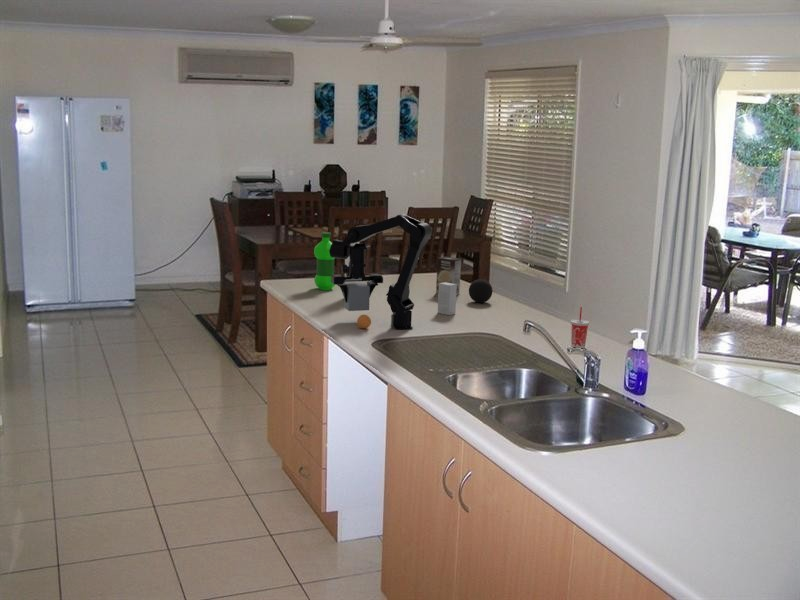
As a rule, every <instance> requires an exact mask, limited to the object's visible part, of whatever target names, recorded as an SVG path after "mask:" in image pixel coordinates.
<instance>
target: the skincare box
mask: <svg viewBox="0 0 800 600" xmlns="http://www.w3.org/2000/svg"><path fill="white" fill-rule="evenodd" d="M456 286H457V284H452V283H446V282H444V283H439V293H438V294H437V295H438V296H437V298H438V299H437V313H438V314H443V315H446V316H452V315H456V312H457V311H456V308H457V307H456V306H457V305H456V304H457V295H456Z"/></svg>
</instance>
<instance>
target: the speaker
mask: <svg viewBox="0 0 800 600" xmlns="http://www.w3.org/2000/svg"><path fill="white" fill-rule="evenodd" d="M468 287H469V288H468V295H469V297H470V298H471V300H472V301H473V302H475V303H478V304H483V303H486V302H488V301H489V300H490V299H491V298H492V295H493V287H492V285H491V283H490V282H489V281H488V280H487V279H483V278H482V279H480V278H478V279H475V280H474V281H472V282H471V284H470V285H469V286H468Z"/></svg>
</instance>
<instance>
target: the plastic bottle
mask: <svg viewBox="0 0 800 600" xmlns="http://www.w3.org/2000/svg"><path fill="white" fill-rule="evenodd" d="M320 238H322V240H321V241H320V242H319V243H317V244H316V245H315V246H314V250H313V251H314V252H313V253H314V257H315V259H316V275H315V276H314V281H313V282H314V283H315V285H316V287H317V288H318V289H319V290H320V291H321V290H322V291H329V290H332V289H333V288H334V287H335V286H336V284H333V283H332V282H331V276H332V275H335V259H336V258H332V257H331V256H330V253H329V250H330V247H331V245H332V243H333V241H332V242H331V241H330V238H332V233H331V232H328V231H327V232H325V231H324V232H321V233H320Z"/></svg>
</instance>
